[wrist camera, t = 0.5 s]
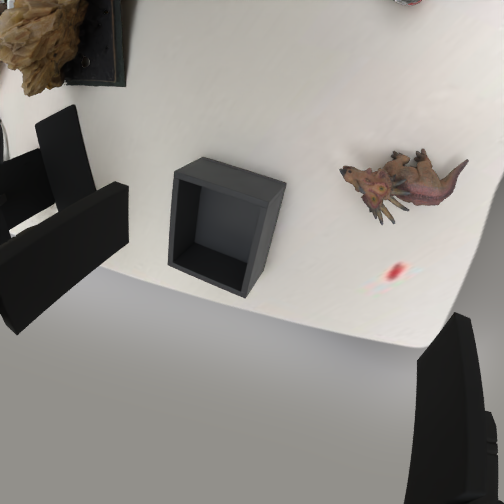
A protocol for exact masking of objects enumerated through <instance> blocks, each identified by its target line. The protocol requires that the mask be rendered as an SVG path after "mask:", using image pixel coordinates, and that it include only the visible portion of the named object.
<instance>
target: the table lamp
mask: <svg viewBox="0 0 504 504" xmlns="http://www.w3.org/2000/svg"><path fill="white" fill-rule="evenodd" d="M35 129H36V133H37V138H38V142H39V146H40V149H39V148H37V149H35V150H32V151H30V152H27V153H25V154H22V155H20V156H17V157H15V158H13V159H10V160H8V161H6V162H4V163H1V164H0V245H2V244H3V243H5V242H8V240H9V239H11V236H10V233H9V230H10V229H12V228H13V227H15V226H17V225H18V224H20V223H22V222H23V221H25V220H27V219H29V218H30V217H32V216H34V215H35V214H37V213H39V212H41V211H42V210H44V209H46V208H48V207H50V206H51V205H53V204H54V203H56V206H57V209H58V212H59V211H61V210H63V209H65V208H66V207H68V206H70V205H72V204H73V203H75V202H77V201H79V200H81V199H82V198H84V197H86V196H88V195H90V194H92V193H94V192H95V191H96V189H95V186H94V182H93V179H92V175H91V171H90V168H89V164H88V160H87V156H86V152H85V148H84V144H83V140H82V136H81V131H80V127H79V122H78V118H77V113H76V108H75V105H71V106H69V107H67V108H65V109H63V110H61V111H59V112H57V113H55V114H53V115H51V116H49V117H47V118H46V119H44V120H42V121H40V122H38V123H37V124H35ZM0 314H1V313H0Z"/></svg>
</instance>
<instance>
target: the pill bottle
mask: <svg viewBox="0 0 504 504" xmlns="http://www.w3.org/2000/svg"><path fill="white" fill-rule="evenodd" d="M394 1H395V2H397V3H399V4H402V5H415V4H418V3H419V2H421V1H422V0H394Z"/></svg>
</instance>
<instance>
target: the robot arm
mask: <svg viewBox="0 0 504 504" xmlns="http://www.w3.org/2000/svg"><path fill="white" fill-rule="evenodd" d="M128 198H129V186H127V185H124V184H121V183H119V182H116V181H115V182H113V183H111V184H109V185H107V186H105V187H103V188H101V189H99V190H97V191H95V192H94V193H92V194H90V195H88V196H86V197H84V198H82V199H81V200H79V201H77V202H75V203H73V204H72V205H70V206H68V207H66V208H65V209H63V210H61V211H59V212H58V213H56V214H54V215H53V216H51V217H49V218H48V219H46V220H44V221H43V222H41V223H39V224H38V225H35V226H32V227H29V228H27V229H25V230H23V231H22V232H20V233H19V234H17V235H16V237H12V238H11V239H9V240H8V242H5V243H3V244H2V245H0V313H1V315H2V318H3V320H4V322H5V324H6V325H7V326H8V327H9V328H10V329H11V330H12V331H13V332H14V333H15V334H16V335H18V334H19V333H20V332H21V331H23V330H24V329H25V328H26V327H27V326H28V325H29V324H30V323H31V322H32V321H34V320H35V319H36V318H37V317H38V316H39V315H41V314H42V313H43V312H44V311H45V310H46V309H47V308H49V307H50V306H51V305H52V304H53V303H54V302H56V301H57V300H58V299H59V298H60V297H61V296H62V295H64V294H65V293H66V292H67V291H68V290H70V289H71V288H72V287H73V286H75V285H76V284H77V283H78V282H79V281H81V280H82V279H83V278H84V277H86V276H87V275H88V274H89V273H91V272H92V271H93V270H94V269H96V268H97V267H98V266H99V265H101V264H102V263H103V262H104V261H106V260H107V259H108V258H109V257H111V256H112V255H113V254H115V253H116V252H117V251H118V250H120V249H121V248H122V247H124V246H125V245H126V244H128V243H129V223H128ZM478 361H479V360H478V355H477V349H476V343H475V338H474V333H473V329H472V324H471V319H470V318H468V317H465V316H463V315H461V314H458V313H456V312H454V314H453V315H452V316H451V318H450V319H449V321H448V322H447V323H446V325H445V326H444V327H443V329H442V330H441V331H440V333H439V334H438V335H437V336H436V338H435V339H434V340H433V342H432V343H431V344H430V345H429V347H428V348H427V349H426V350H425V352H424V353H423V354H422V355H421V356H420V358H419V359H418V360H417V389H416V390H417V391H416V410H415V423H414V436H413V445H412V454H411V462H410V469H409V477H408V483H407V489H406V495H405V500H404V504H504V503H503V502H502V501H500V500H498V455H497V453H498V446H497V444H496V442H497V431H496V430H497V429H496V424H495V422H494V419H493V416H492V414H491V412H488V411H485V408H484V397H483V388H482V381H481V373H480V367H479V362H478Z"/></svg>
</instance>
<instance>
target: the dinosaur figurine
mask: <svg viewBox="0 0 504 504" xmlns="http://www.w3.org/2000/svg"><path fill="white" fill-rule="evenodd" d="M393 153H394V155H391V157H392V158H393V160H392V161H390V162H387V163H386V164H385V166H384V167H383V169H381V168H379V169H378V171H375V172H373V173H372V170H371V168H368V169H367V170H366V171H361V170H358V169H356V168H355V167H352V166H343V169H339V170H340V172H341V174H342V175H343V177H344V179H345V181H346V182H349V183H350V184H353V186H354V187H355V190H356V191H357V192H361V193H363V194H364V195H363V196H362V197H361V198H362V199H363V201H364V203H365V204H366V205H367V207H369V212H372V213H373V215H374V217H375V219H377V216H378V218H379V221H380V223H381V225H383V218H382V213H381V211H382V212H383V213H384V214H385V215H386V216H387V217H388V218H389V219H390V220H391V221H392V223H393V224H395V221H394V218H393V217H392V215H391V214H390V212H389V211H388V209H387V208H386V207H385V206H384V204H383V199H385V200H389V201H390V202H392V203H393V204H394V205H396V206H397V207H399V208H401V209H402V210H405V211H409V209H408V208H406V207H404V206H403V205H402V204H401V203H399V202H398V201H397V200H396V199H395V198H394V197H393V196H394V195H395V196H396V197H397V198H399V199H401V200H403V201H405V202H408V203H410V202H412V203H413V204H414V205H416V206H418V205H428V206H430V205H439V204H440V202H442V201H443V200H444V199H446V198H447V197H448V196H449V195H451V194H452V193H453V190H454V189H455V185H456V181H457V177H458V175H459V174H460V172H461V171H462V170H463V168H464V167H465V166H466V164H467V163H468V161H469V160H468V159H467V160H465V161H464V162H462V163H461V164H460V165H458V166H457V167H456V168H455V169H453V170H452V171H451V172H450V173H449V174H448V175H447V176H446V177H445V178H443V179H441V180H439V178H438V176H437V174H436V173H435V171H434V170H433V169H432V164H431V161H430V160H429V158H428V157H427V155H426V151H425V150H424V149H422V150H421V153H420V152H418V151H416V155H417V157H415V158H414V160H415V161H417V162H418V163H417V167H416V168H415V167H405V166H403V165H405V164H407V163H408V162H409V161H410V158H409V157H407V156H405V155H403V154H401V153H399V154H398V153H397V152H395V151H393Z"/></svg>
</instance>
